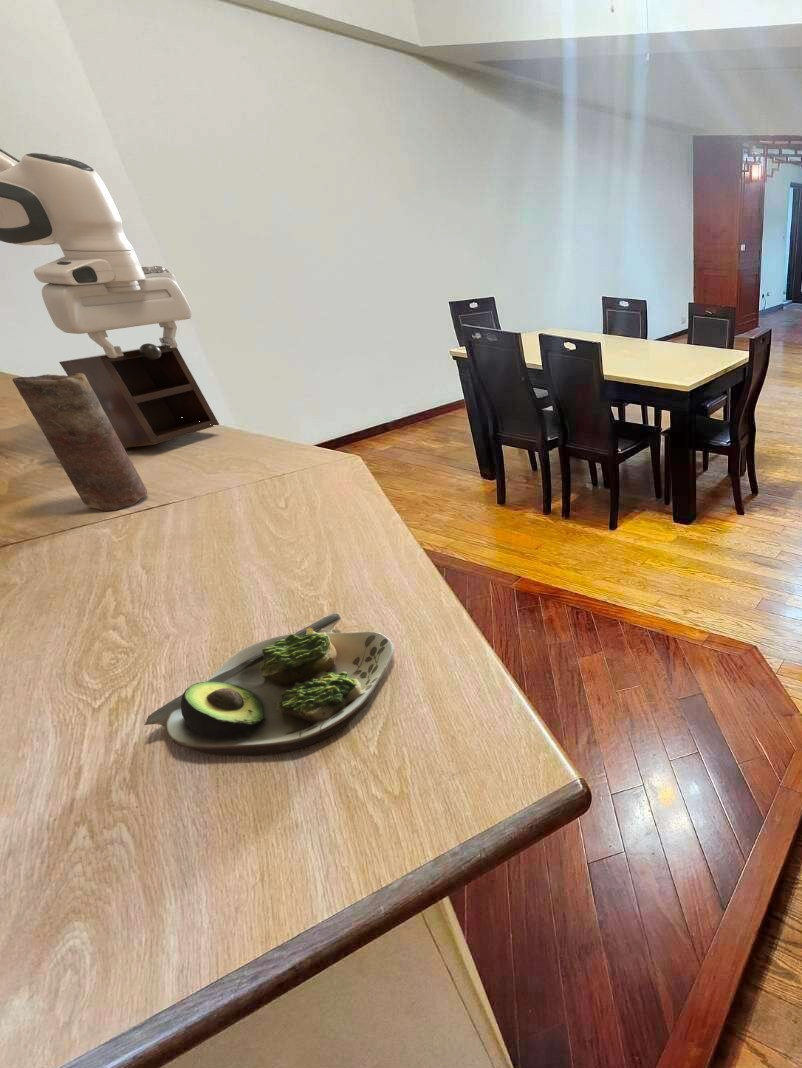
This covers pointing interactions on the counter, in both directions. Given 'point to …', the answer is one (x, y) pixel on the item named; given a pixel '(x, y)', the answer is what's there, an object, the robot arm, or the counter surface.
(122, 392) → the shelf
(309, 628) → the salad plate
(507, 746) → the counter surface
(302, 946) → the counter surface
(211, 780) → the counter surface
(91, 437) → the brown textured cylinder
